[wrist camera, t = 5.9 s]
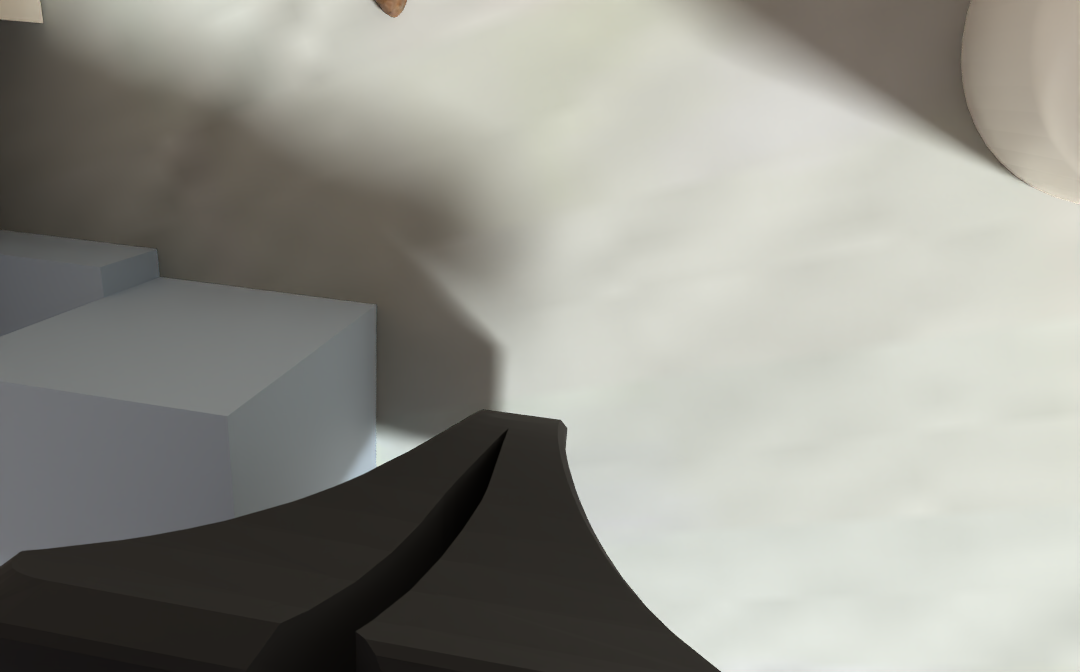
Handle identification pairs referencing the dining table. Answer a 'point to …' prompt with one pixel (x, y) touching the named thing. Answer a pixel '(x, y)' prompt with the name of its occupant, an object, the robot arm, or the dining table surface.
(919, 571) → the dining table surface
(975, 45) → the white rounded cylinder
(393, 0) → the hand saw
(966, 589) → the dining table surface
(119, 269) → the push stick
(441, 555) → the robot arm
